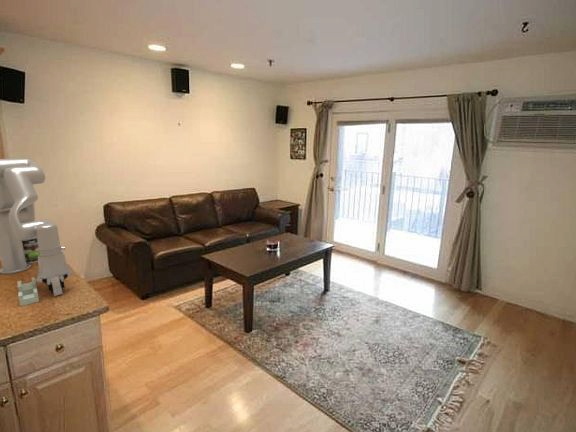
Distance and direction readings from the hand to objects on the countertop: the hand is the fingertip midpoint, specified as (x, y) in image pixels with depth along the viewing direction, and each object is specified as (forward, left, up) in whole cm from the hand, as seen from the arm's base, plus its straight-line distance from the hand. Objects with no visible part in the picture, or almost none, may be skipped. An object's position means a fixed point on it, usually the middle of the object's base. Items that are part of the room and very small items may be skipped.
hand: (57, 289), depth 145 cm
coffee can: (-53, -6, -2) cm, 54 cm away
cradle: (-4, -10, -1) cm, 11 cm away
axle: (-4, 0, 0) cm, 4 cm away
